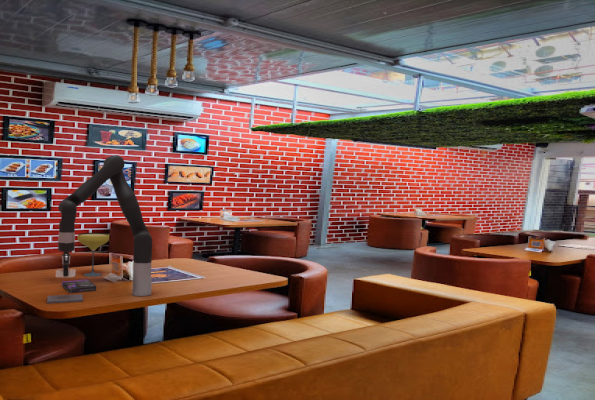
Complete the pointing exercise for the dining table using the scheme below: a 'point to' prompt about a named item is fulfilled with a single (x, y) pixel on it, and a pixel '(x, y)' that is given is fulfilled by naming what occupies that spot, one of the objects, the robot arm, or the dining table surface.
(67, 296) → the rubber mat
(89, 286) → the box
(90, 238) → the cocktail glass
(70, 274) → the white rectangular block
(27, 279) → the dining table surface
